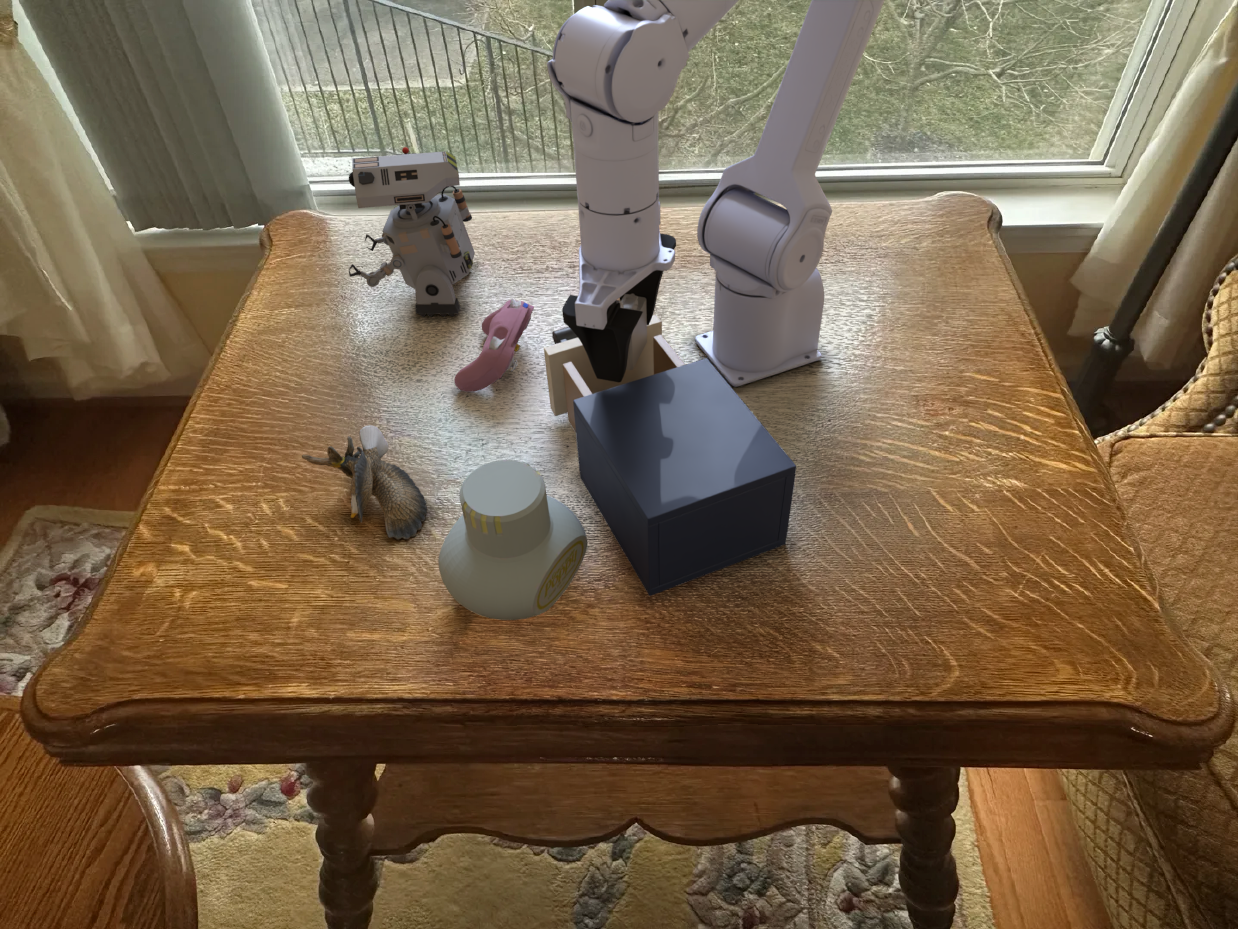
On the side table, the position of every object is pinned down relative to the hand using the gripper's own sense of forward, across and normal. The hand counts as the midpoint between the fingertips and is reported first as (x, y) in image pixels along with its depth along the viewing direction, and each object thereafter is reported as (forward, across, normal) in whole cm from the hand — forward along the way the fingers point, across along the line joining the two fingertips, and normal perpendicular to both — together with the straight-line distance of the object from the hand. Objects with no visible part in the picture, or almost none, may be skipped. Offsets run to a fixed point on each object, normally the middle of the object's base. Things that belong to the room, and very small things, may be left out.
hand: (624, 348), depth 75 cm
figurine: (+10, +15, +27) cm, 32 cm away
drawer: (+8, +1, +1) cm, 8 cm away
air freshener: (+9, -18, +3) cm, 20 cm away
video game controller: (+10, +6, +14) cm, 18 cm away
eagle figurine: (+9, -14, +17) cm, 24 cm away
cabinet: (+9, -8, -7) cm, 14 cm away
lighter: (+2, 0, 0) cm, 2 cm away
